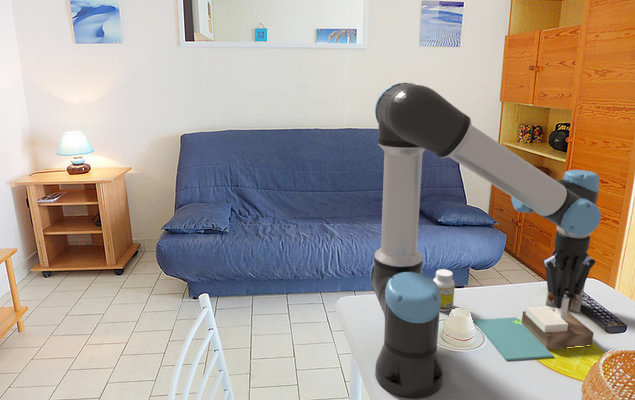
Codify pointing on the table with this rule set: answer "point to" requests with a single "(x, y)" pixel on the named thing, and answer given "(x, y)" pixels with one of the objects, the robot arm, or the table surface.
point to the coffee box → (574, 302)
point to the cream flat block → (546, 319)
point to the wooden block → (561, 333)
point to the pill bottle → (445, 288)
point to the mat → (512, 339)
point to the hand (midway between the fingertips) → (559, 318)
